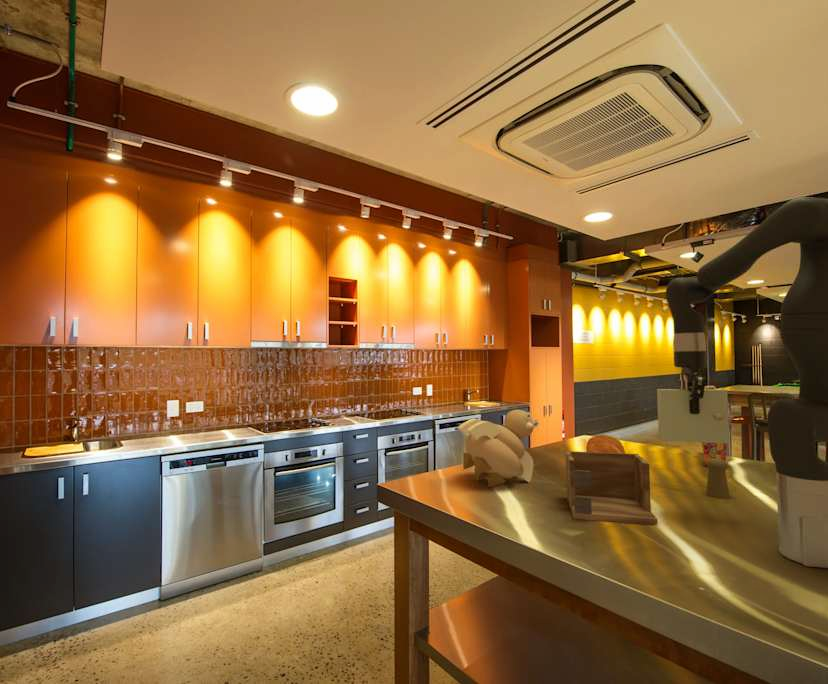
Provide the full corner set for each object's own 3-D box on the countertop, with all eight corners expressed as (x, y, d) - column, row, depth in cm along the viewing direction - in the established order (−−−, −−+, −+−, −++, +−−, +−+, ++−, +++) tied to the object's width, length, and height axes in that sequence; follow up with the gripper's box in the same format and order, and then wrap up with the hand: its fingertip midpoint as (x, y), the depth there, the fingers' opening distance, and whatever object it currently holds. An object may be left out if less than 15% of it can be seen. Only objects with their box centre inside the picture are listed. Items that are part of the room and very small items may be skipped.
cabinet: (657, 525, 107) (655, 469, 108) (573, 518, 112) (572, 465, 113) (638, 502, 124) (637, 453, 125) (566, 497, 129) (565, 451, 130)
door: (731, 444, 111) (729, 390, 112) (663, 442, 115) (661, 390, 116) (724, 441, 115) (722, 389, 116) (658, 439, 119) (657, 389, 120)
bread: (583, 492, 134) (581, 442, 135) (584, 471, 159) (583, 429, 159) (632, 497, 129) (630, 446, 130) (626, 475, 153) (625, 432, 154)
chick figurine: (511, 386, 137) (476, 383, 158) (460, 458, 129) (430, 445, 150) (568, 443, 144) (527, 433, 165) (524, 514, 136) (487, 494, 157)
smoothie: (727, 465, 164) (725, 413, 165) (729, 470, 157) (727, 416, 158) (701, 463, 169) (699, 412, 170) (702, 467, 162) (700, 415, 163)
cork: (734, 499, 126) (732, 461, 127) (711, 497, 127) (710, 460, 128) (723, 492, 132) (722, 457, 133) (702, 491, 133) (700, 456, 134)
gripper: (716, 349, 109) (719, 416, 108) (694, 350, 123) (697, 410, 122) (683, 349, 111) (686, 416, 110) (665, 350, 125) (668, 409, 124)
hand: (691, 412), depth 116 cm, fingers closed on door, 3 cm apart
